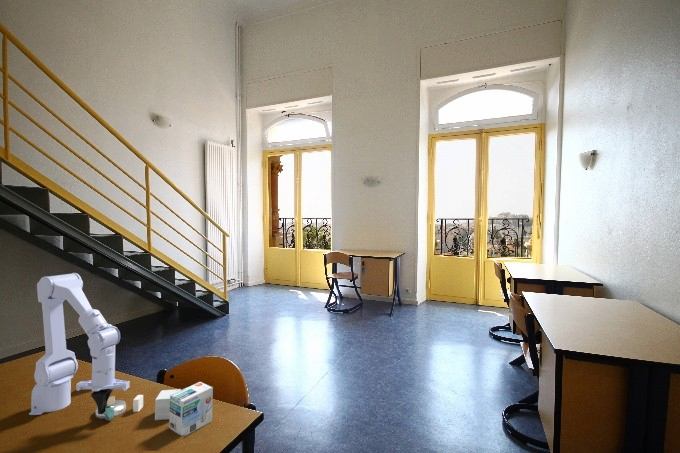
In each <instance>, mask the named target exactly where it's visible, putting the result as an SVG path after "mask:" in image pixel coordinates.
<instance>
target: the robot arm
mask: <svg viewBox="0 0 680 453" xmlns="http://www.w3.org/2000/svg"><path fill="white" fill-rule="evenodd" d="M83 287H84V282H83V280H82V276H80V274H79V273H76V272H72V273H67V274H58V275H50V276H42V277H41V278H40V279H39V281H38V282H37V283H36V292H37V301H38V303H41V308H42V309H41V310H42V322H43V323H42V324H43V334H44V344H45V345H44V346H45V353H44V355H42V356H41V357H40V358H39V359H38V360H37V361H36V362H35V371H34V374H33V375H34V377H33V378H34V381H35V383H36V384H35V385H34V387H33V388H32V390H31V395H30V396H31V401H30V402H31V403H30V407H31V409H30V412H29V413H28V415H30V416H40V415H41V416H42V414H43V413H51V412H57V411H59V410H63V409H65V408H66V407H68V406H70V405H71V402H72V400H71V398H72V396H71V391H72V385H71V384H72V379H73V378H74V375H75V374H76V373H77V371H78V370H79V369H78V368H79V364H78V360H77V359H76V358H77V357H76V355H75V352H74V351H72V350H69V349H67V340H66V330H65V315H64V305H63V304H64V302H65V301H67V302H68V303H69V305H70V306H71V307H72V308H73V309H74V311H75V312H76V313H77V314H78V315H79V317H78V320H77V321H78V323H79V325H80V326H81V328H82V329H83V331H84V332H85V334H86V335H87V337H88V340H87V345H88V348H89V350H90V351H89V353H90V356H91V357H92V358H91V359H92V360H91V361H92V362H91V380H82V381H79V382H77V383H76V384H75V385H76V386H75V388H76V389H75V390H76V391H81V390H91V392H92V393H90V397H91V398H92V399H93V400H94V402H95V404H96V406H97V408H98V414H103V413H104V412H105V407H106V405H107V401H108V399H109V397H111V395H112V393H113V391H114V390H122V391H127V390H128V389H129V388H130V383H131V381H130V380H121V379H118V378H115V376H116V345H117V344H119V343H120V340H121V332H120V329H118V327H116V326H115V325H112V324H111V323H108V322H107V321H106V319H105V317H104V316H103V314H102V313H101V312H100V310H98V309H94V308H93V307H92V306H91V303H90V302H89V300H88V298H87V296H86V294H85V293H84V291H83Z"/></svg>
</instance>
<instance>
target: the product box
mask: <svg viewBox="0 0 680 453" xmlns="http://www.w3.org/2000/svg"><path fill="white" fill-rule="evenodd" d="M181 390H182V389H181V388H178V389H163V390H161V391H160V392H159V394H158V395H157V396H156V398H155V400H154V402H155V403H154V421H160V420H170V395H171V394H174V393H176V392H178V391H181Z"/></svg>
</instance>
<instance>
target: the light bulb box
mask: <svg viewBox="0 0 680 453" xmlns="http://www.w3.org/2000/svg"><path fill="white" fill-rule="evenodd" d="M213 389H214V387H213V386H212V385H211V386H210V385H209V384H206V383H204V382H202V381H198V382H196V383H194V384H192V385H190V386H188V387H185V388H183V389H181V391H178V392H176V393H174V394H171V395H170V419H169V430H172V431H173V432H174V433H176V434H178V435H179V436H181V437H183V436H184V438H185V437H187V436H189V435H190V434H192V433H193V432H196V431H197V430H198V429H201V428H202V427H204V426H207V425H208V424H209V423H211V422H212V421H213V400H214V399H213V396H214V394H213V393H214V392H213V391H214V390H213Z"/></svg>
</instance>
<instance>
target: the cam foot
mask: <svg viewBox="0 0 680 453" xmlns="http://www.w3.org/2000/svg"><path fill="white" fill-rule="evenodd" d="M126 410H127V402H126V401H125V400H122V399H117V400H116V396H115V395H112V396H109V399H108V401H107V405H106V407H105V412H104V413H103V414H98V407H97V408H96V409H95V417H96V418H97V419H100V420H104V419H105V421H110V420H112V419H114V417H117V416H120V415H121V414H123V413H124V412H125V411H126Z"/></svg>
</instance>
